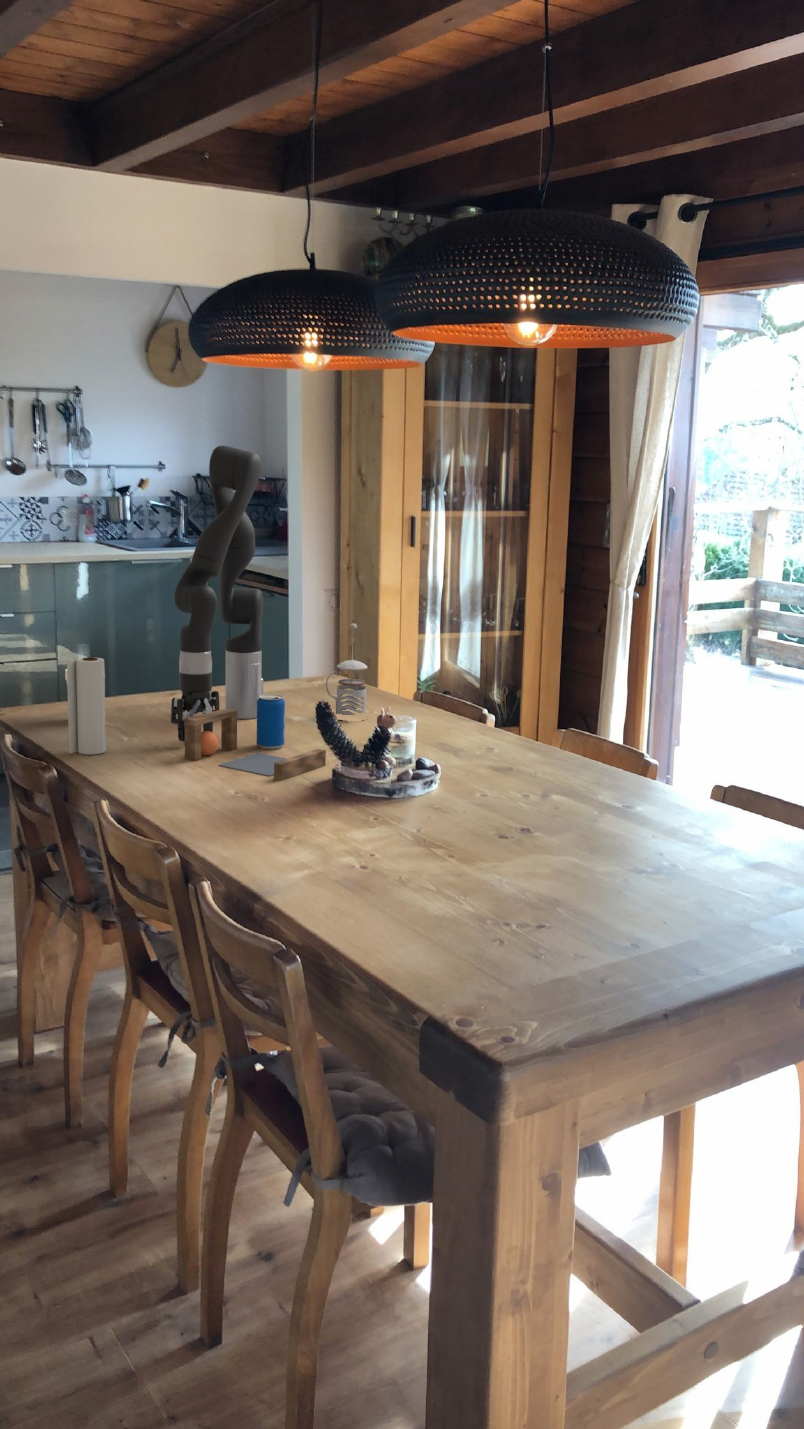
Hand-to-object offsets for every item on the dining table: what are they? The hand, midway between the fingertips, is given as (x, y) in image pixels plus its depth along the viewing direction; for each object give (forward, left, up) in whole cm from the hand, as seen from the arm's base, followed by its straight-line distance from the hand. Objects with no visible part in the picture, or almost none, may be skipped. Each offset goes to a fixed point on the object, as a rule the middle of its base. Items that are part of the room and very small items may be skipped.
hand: (195, 737), depth 280 cm
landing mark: (+5, +24, -1) cm, 25 cm away
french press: (-47, +11, -2) cm, 48 cm away
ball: (+6, +9, +1) cm, 11 cm away
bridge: (+5, +9, -1) cm, 10 cm away
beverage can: (-9, +15, -2) cm, 18 cm away
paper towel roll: (+21, -13, -2) cm, 25 cm away
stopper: (+5, +34, -1) cm, 34 cm away
